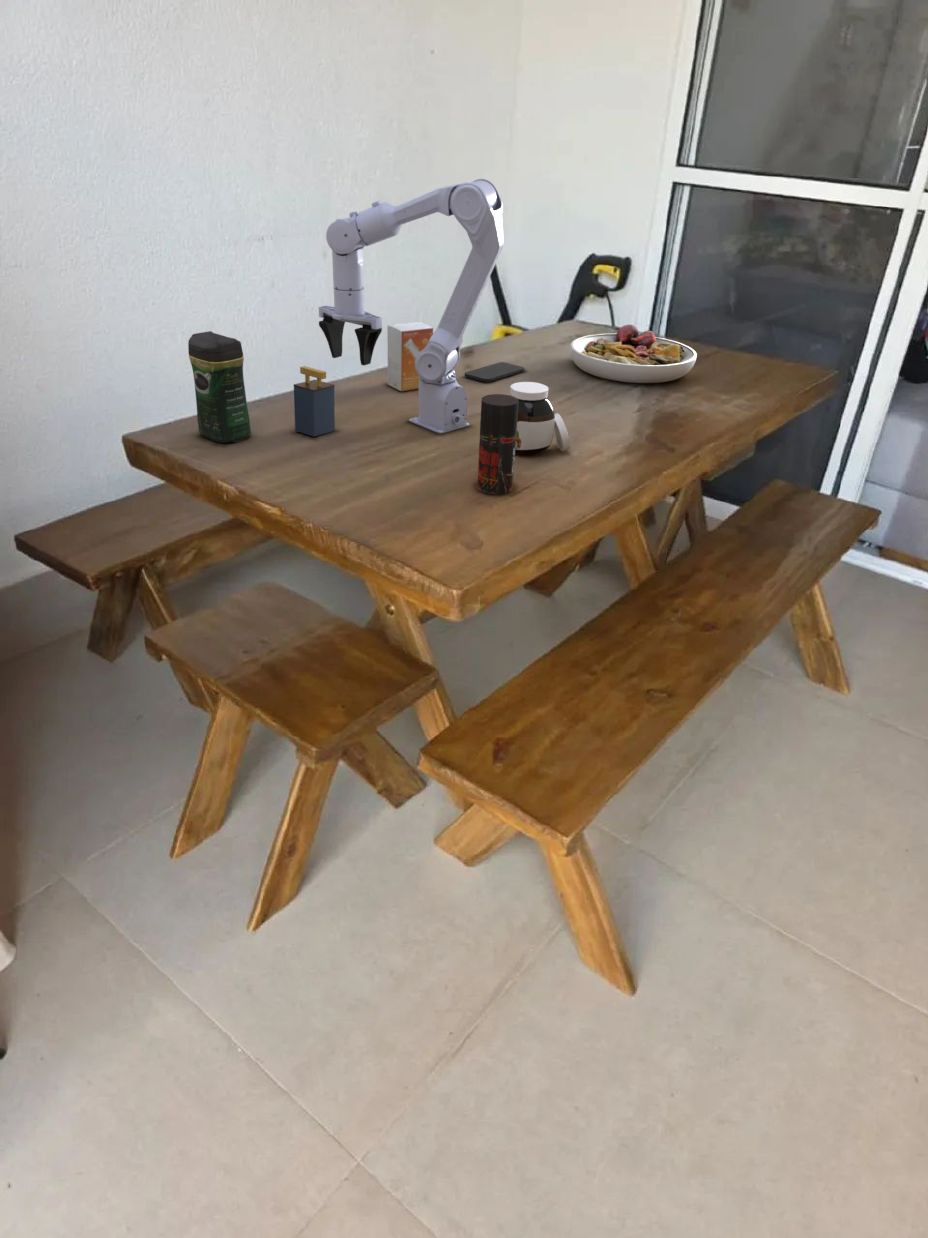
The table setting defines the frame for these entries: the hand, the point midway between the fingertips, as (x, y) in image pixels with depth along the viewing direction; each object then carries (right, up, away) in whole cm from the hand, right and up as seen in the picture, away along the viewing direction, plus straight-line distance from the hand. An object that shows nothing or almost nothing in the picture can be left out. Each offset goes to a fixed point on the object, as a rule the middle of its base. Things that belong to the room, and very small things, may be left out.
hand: (351, 360), depth 168 cm
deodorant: (+27, -29, -25) cm, 47 cm away
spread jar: (+36, -19, -9) cm, 41 cm away
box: (-4, -9, -6) cm, 12 cm away
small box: (+10, +1, +22) cm, 24 cm away
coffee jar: (-22, -17, -9) cm, 29 cm away
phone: (+29, +6, +32) cm, 44 cm away
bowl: (+63, +10, +40) cm, 75 cm away
